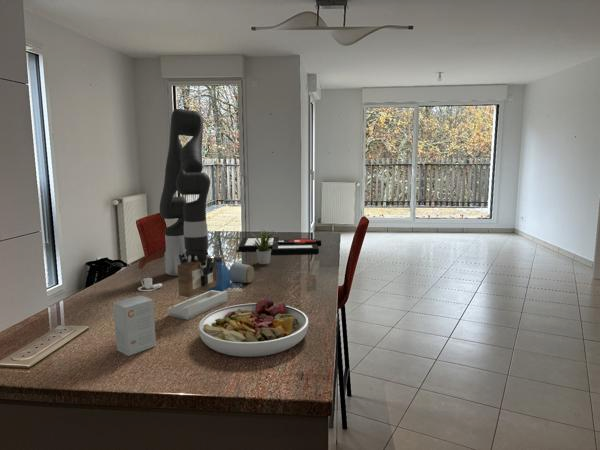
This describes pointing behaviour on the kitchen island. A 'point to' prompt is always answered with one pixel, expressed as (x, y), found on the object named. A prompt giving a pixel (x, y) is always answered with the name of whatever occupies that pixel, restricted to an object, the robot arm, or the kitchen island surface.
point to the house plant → (264, 248)
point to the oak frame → (193, 279)
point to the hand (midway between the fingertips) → (198, 285)
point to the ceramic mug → (241, 273)
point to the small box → (134, 325)
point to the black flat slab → (283, 245)
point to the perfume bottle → (221, 276)
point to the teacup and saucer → (149, 285)
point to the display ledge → (198, 304)
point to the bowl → (253, 328)
